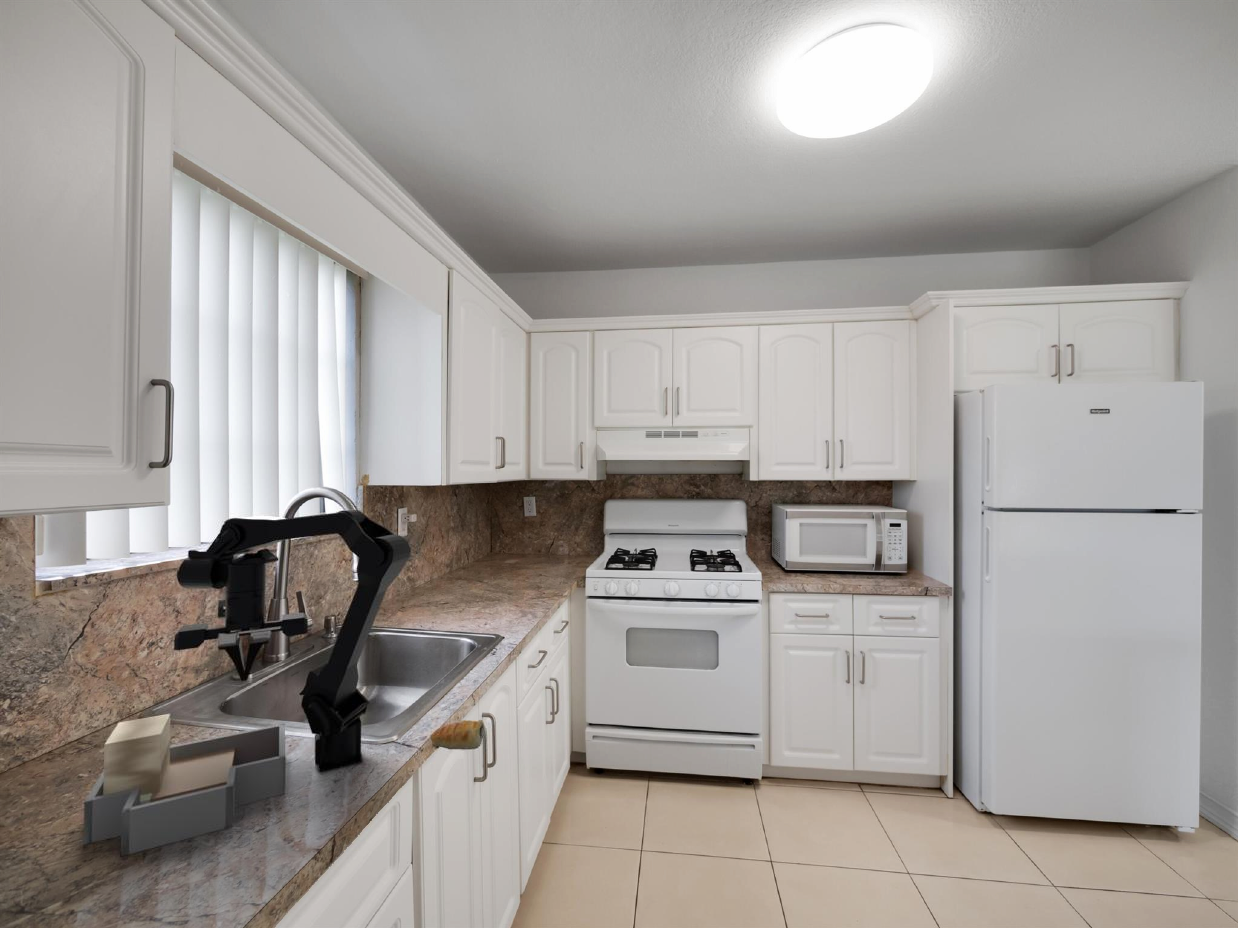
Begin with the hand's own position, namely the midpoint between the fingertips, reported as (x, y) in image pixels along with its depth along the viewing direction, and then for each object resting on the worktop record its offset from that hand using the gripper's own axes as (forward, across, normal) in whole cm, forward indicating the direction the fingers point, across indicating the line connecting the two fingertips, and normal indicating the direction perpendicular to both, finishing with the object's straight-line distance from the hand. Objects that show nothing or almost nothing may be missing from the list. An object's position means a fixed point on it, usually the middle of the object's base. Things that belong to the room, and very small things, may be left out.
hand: (244, 680), depth 96 cm
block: (+10, +12, +10) cm, 18 cm away
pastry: (+14, -33, +14) cm, 39 cm away
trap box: (+13, +5, +13) cm, 19 cm away
